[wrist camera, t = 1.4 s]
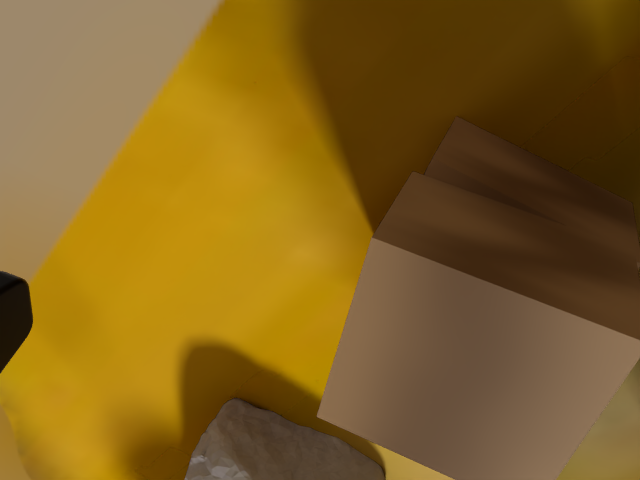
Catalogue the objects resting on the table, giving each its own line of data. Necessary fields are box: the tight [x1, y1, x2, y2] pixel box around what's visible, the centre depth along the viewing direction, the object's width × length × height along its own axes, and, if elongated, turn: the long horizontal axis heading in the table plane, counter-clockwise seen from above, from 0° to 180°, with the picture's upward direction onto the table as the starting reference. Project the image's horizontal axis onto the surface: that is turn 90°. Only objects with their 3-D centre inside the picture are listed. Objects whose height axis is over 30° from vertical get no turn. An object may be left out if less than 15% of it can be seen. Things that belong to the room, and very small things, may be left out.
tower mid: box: [317, 171, 640, 480], centre depth 16 cm, size 6×6×4 cm
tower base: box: [424, 116, 640, 269], centre depth 19 cm, size 6×6×4 cm
